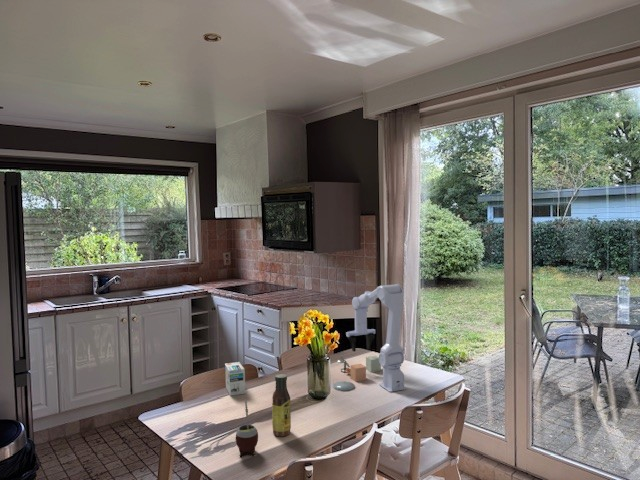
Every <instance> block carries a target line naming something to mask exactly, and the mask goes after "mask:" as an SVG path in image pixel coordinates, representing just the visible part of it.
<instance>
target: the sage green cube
mask: <svg viewBox="0 0 640 480" xmlns="http://www.w3.org/2000/svg"><path fill="white" fill-rule="evenodd" d="M365 367H366V371H368V372H369V373H376V372H382V366H381V364H380V363H379V356H378V355H370V356H366V357H365Z"/></svg>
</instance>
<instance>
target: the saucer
mask: <svg viewBox="0 0 640 480" xmlns="http://www.w3.org/2000/svg"><path fill="white" fill-rule="evenodd" d="M332 386H333V389H334V390H336V391H340V392H347V391H348V392H349V391H351V390H354V389H355V384H354V383H352V382H351V381H344V380H343V381H336V382H335V383H333V385H332Z"/></svg>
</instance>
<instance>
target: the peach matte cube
mask: <svg viewBox="0 0 640 480" xmlns="http://www.w3.org/2000/svg"><path fill="white" fill-rule="evenodd" d="M349 366H350V367H349V369H351V373H350V379H351V380H352V381H354V382H355V383H357V382H358V383H359V382H363V381H367V369H366V365H364V364H362V363H356V364H350V365H349Z"/></svg>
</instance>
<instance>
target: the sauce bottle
mask: <svg viewBox="0 0 640 480" xmlns="http://www.w3.org/2000/svg"><path fill="white" fill-rule="evenodd" d="M287 379H288V375H287V374H284V373H281V374H276V375H275V376H274V381H275V390H274V391H273V393H272V403H271V404H272V405H271V407H272V409H271V410H272V414H271V415H272V416H271V417H272V421H271V422H272V424H271V425H272V432H273V435H274V436H276V437H285V436H286V437H287V436H288V435H290V433H291V428H292V426H291V425H292V424H291V423H292V421H291V419H292V417H291V416H292V414H291V406H292V405H291V396H290V394H289V390H288V386H287Z"/></svg>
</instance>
